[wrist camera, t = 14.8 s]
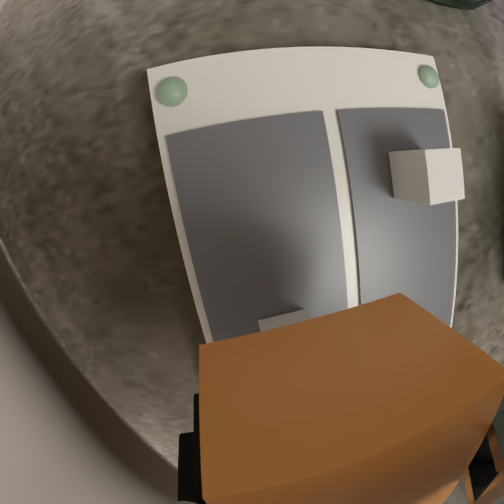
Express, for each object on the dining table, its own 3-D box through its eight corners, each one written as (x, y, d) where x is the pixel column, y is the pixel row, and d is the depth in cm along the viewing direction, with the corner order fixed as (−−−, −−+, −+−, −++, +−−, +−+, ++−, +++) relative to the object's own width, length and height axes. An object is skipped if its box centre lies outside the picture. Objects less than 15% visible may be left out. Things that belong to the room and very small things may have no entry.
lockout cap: (388, 422, 11) (444, 502, 6) (243, 466, 10) (263, 569, 5) (400, 292, 9) (511, 373, 4) (199, 344, 8) (201, 498, 4)
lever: (427, 192, 15) (464, 198, 12) (394, 198, 14) (430, 205, 11) (422, 149, 14) (460, 147, 11) (388, 151, 14) (424, 149, 11)
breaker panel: (418, 405, 23) (433, 422, 20) (250, 461, 21) (255, 485, 19) (410, 66, 15) (436, 55, 13) (155, 83, 14) (145, 67, 11)
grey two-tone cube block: (310, 348, 16) (329, 380, 13) (264, 359, 16) (276, 395, 13) (305, 307, 15) (326, 336, 12) (256, 319, 15) (267, 352, 12)
